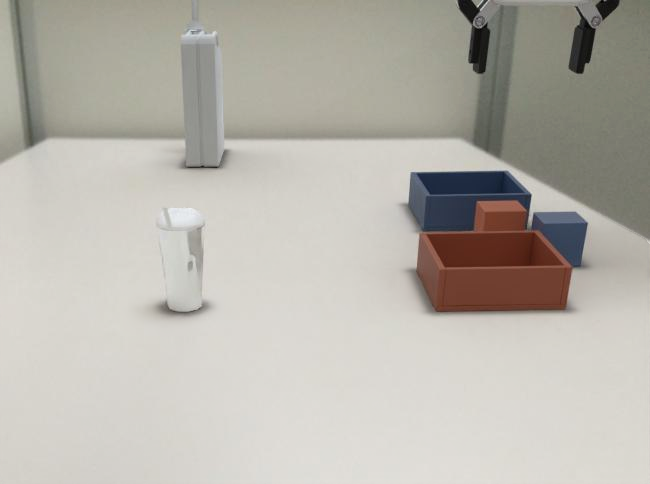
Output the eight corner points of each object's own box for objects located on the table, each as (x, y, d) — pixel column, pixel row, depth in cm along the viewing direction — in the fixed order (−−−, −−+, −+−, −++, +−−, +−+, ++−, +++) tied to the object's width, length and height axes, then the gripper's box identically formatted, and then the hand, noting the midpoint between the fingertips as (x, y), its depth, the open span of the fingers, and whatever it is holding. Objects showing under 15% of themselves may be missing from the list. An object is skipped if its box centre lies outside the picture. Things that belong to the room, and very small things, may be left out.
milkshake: (149, 314, 91) (141, 205, 86) (173, 296, 96) (167, 191, 90) (192, 319, 90) (187, 209, 85) (215, 301, 94) (212, 195, 89)
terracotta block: (511, 241, 110) (517, 200, 107) (521, 252, 106) (527, 210, 103) (472, 241, 110) (476, 201, 107) (480, 253, 106) (485, 211, 103)
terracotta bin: (533, 268, 101) (538, 230, 99) (565, 309, 91) (572, 267, 89) (416, 270, 101) (419, 232, 99) (435, 311, 91) (439, 269, 89)
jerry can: (194, 146, 156) (187, -33, 143) (225, 146, 156) (220, -34, 142) (184, 167, 144) (175, -27, 130) (218, 167, 143) (212, -28, 130)
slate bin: (503, 203, 124) (507, 170, 121) (527, 229, 113) (532, 194, 111) (408, 204, 124) (410, 172, 122) (423, 231, 113) (425, 196, 111)
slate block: (568, 253, 105) (575, 211, 103) (580, 266, 102) (588, 222, 99) (527, 254, 105) (533, 212, 103) (537, 267, 102) (544, 223, 99)
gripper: (639, -137, 90) (603, 66, 99) (453, -136, 90) (434, 67, 100) (668, -140, 84) (626, 77, 93) (467, -139, 84) (445, 77, 93)
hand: (527, 71), depth 96 cm, fingers open, 9 cm apart
